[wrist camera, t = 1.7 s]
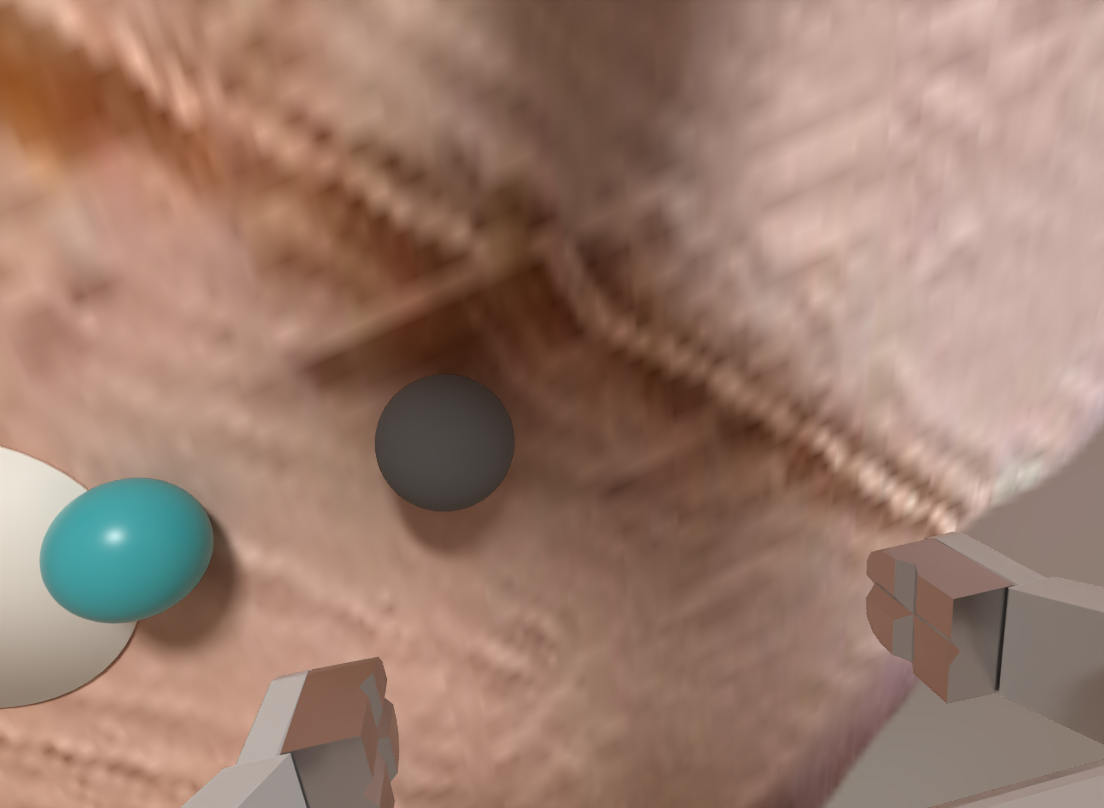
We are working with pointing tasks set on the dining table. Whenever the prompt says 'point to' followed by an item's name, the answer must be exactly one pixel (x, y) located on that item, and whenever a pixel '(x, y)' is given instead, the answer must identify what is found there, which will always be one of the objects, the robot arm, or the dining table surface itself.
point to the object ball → (126, 550)
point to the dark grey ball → (444, 442)
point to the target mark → (41, 593)
